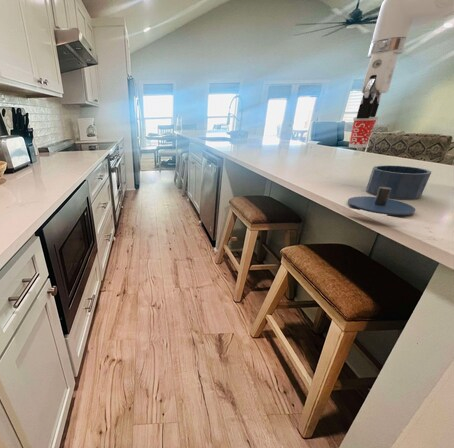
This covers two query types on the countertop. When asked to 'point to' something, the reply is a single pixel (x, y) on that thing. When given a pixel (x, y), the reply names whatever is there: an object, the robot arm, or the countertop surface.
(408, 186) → the pot
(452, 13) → the robot arm
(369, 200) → the pot lid
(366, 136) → the beverage cup
